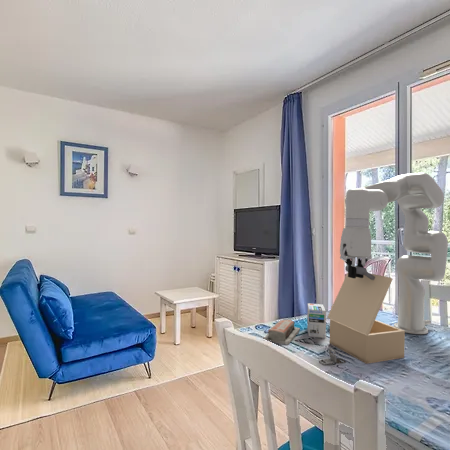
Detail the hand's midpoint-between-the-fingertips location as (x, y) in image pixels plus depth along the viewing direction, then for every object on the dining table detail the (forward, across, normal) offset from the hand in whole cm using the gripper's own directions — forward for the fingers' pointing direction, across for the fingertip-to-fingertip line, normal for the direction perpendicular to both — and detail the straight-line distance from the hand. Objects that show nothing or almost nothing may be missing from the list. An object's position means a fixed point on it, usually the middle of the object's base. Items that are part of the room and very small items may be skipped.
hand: (355, 277), depth 110 cm
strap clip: (+27, +12, +5) cm, 30 cm away
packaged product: (+27, +15, -22) cm, 38 cm away
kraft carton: (+26, -5, 0) cm, 26 cm away
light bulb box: (+26, +1, -20) cm, 33 cm away
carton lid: (+8, -2, 0) cm, 8 cm away
